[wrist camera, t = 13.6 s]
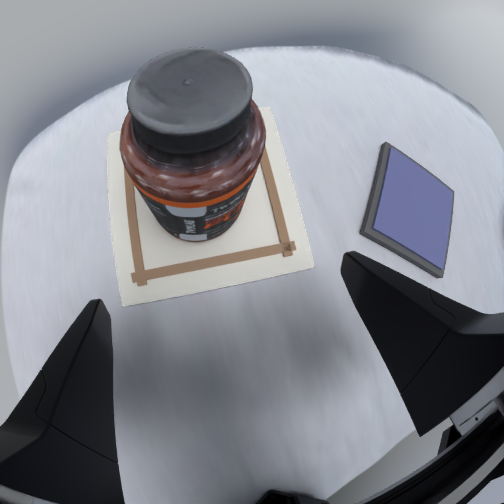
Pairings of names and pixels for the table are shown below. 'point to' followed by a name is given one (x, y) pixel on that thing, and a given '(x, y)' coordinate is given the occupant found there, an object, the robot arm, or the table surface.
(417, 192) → the ink pad
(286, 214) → the marked sheet
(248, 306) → the table surface
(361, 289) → the robot arm
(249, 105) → the supplement bottle
